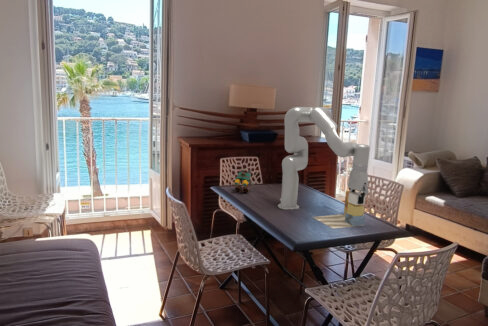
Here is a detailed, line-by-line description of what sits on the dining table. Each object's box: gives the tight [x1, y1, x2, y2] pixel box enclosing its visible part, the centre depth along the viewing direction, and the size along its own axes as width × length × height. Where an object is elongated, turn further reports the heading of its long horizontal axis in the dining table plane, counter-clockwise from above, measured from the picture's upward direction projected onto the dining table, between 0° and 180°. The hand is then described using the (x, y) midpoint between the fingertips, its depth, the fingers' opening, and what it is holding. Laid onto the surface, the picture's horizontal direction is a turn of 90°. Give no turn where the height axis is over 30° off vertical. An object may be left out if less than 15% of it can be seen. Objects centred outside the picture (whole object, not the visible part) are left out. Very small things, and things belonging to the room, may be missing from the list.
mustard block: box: [347, 204, 365, 216], centre depth 202 cm, size 6×6×5 cm
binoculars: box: [233, 169, 255, 194], centre depth 263 cm, size 14×14×15 cm
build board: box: [312, 213, 366, 229], centre depth 206 cm, size 19×20×6 cm
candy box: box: [343, 189, 362, 216], centre depth 217 cm, size 9×4×15 cm, turn 75°
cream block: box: [348, 192, 367, 205], centre depth 202 cm, size 6×6×5 cm
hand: (356, 201), depth 202 cm, fingers closed on cream block, 5 cm apart
